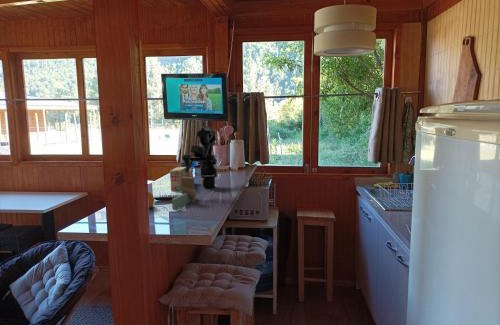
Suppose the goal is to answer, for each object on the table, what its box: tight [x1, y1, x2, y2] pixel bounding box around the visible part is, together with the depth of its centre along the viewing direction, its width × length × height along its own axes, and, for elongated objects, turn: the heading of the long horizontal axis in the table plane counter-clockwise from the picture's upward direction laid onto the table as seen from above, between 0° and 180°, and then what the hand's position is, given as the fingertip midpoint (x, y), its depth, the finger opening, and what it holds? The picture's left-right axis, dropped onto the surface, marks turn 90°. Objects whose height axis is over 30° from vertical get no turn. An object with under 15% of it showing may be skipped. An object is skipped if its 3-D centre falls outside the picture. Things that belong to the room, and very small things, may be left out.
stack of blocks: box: [169, 166, 194, 192], centre depth 224 cm, size 21×6×12 cm, turn 170°
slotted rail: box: [171, 189, 197, 210], centre depth 184 cm, size 20×2×5 cm, turn 159°
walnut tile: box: [181, 177, 196, 204], centre depth 187 cm, size 2×6×12 cm, turn 69°
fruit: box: [147, 190, 155, 209], centre depth 179 cm, size 12×12×10 cm
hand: (194, 172), depth 195 cm, fingers open, 9 cm apart
